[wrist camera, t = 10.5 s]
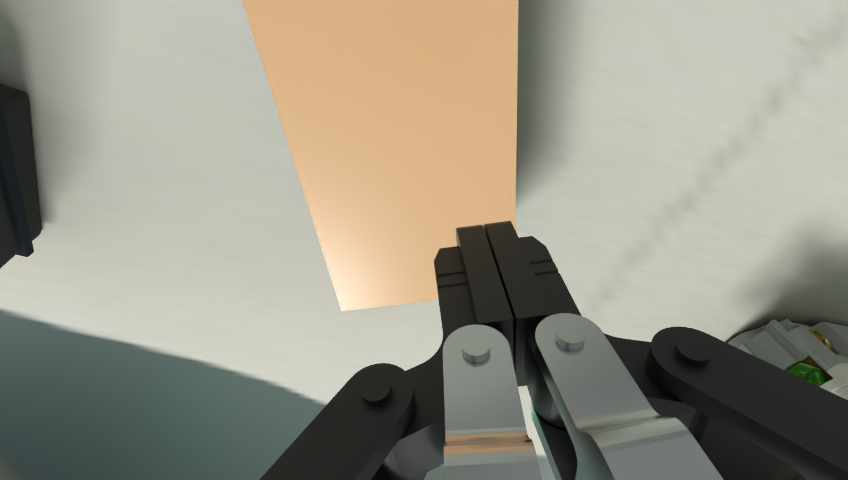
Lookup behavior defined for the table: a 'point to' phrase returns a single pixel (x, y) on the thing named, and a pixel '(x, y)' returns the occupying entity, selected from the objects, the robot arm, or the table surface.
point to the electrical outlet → (802, 351)
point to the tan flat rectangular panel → (394, 129)
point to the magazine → (17, 177)
